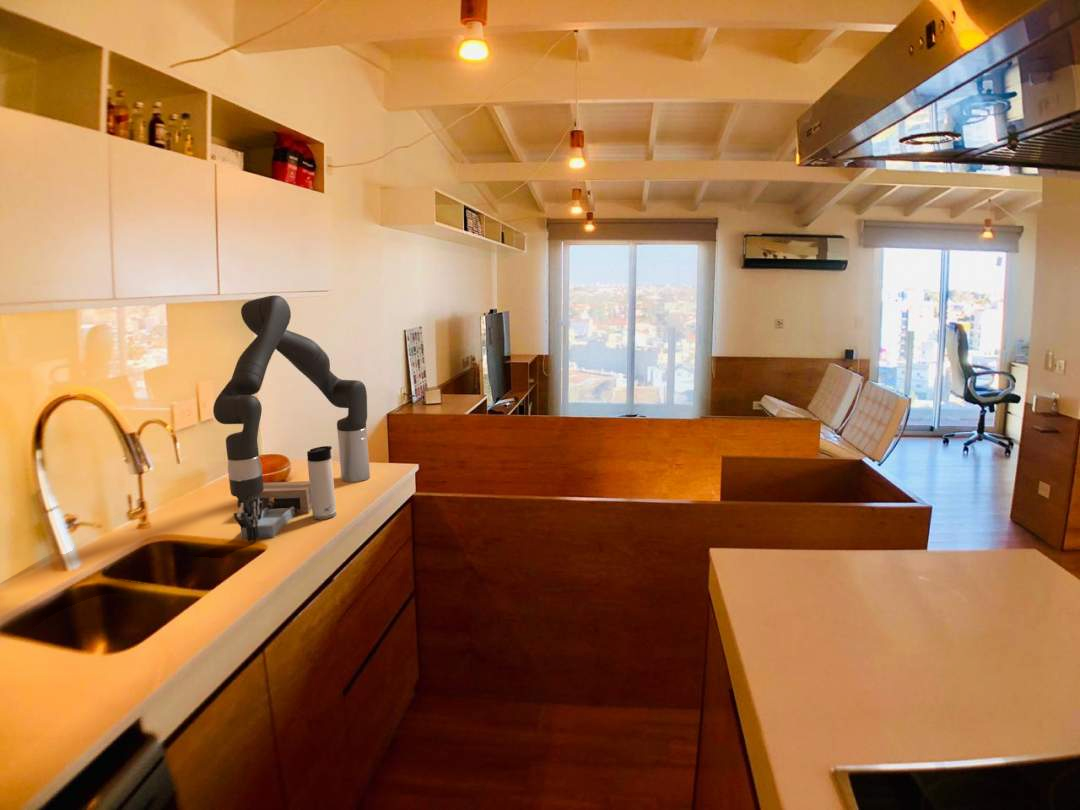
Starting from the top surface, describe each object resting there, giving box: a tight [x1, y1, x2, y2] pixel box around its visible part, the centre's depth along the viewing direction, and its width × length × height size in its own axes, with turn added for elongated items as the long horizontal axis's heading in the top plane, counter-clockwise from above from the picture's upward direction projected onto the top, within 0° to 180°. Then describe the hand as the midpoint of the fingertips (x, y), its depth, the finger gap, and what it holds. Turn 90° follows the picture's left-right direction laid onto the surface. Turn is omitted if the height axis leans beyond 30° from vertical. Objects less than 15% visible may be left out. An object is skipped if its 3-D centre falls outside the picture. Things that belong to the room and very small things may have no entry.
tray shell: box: [240, 506, 296, 539], centre depth 170 cm, size 16×8×3 cm, turn 2°
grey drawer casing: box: [259, 480, 312, 515], centre depth 183 cm, size 8×15×7 cm, turn 92°
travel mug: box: [306, 445, 337, 520], centre depth 175 cm, size 6×7×20 cm
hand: (253, 540), depth 160 cm, fingers closed
